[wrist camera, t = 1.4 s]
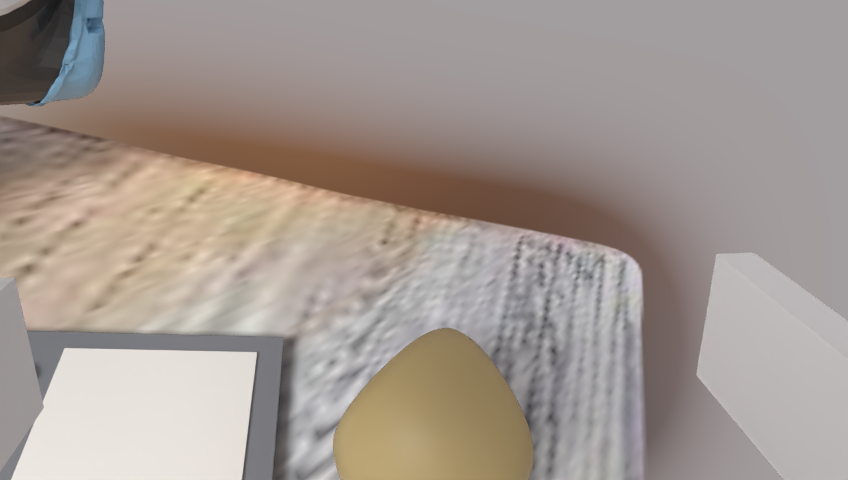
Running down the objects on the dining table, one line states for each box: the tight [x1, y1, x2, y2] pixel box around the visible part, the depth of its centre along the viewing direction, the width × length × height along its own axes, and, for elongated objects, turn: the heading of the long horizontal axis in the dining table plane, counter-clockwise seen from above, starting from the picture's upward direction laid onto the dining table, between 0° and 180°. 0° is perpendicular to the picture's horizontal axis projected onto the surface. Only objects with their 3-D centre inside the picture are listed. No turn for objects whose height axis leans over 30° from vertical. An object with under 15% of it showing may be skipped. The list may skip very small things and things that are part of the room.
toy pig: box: [333, 328, 534, 480], centre depth 37 cm, size 10×12×11 cm
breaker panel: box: [0, 331, 283, 480], centre depth 37 cm, size 16×20×3 cm
